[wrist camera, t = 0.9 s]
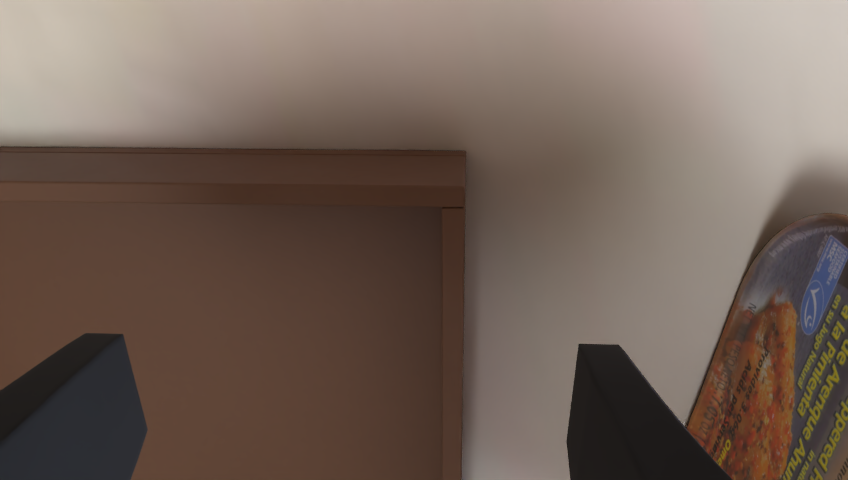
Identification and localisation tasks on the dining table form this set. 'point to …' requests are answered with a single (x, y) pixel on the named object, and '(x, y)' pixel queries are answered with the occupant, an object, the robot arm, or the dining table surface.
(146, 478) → the tray
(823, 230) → the tin
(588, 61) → the dining table surface
